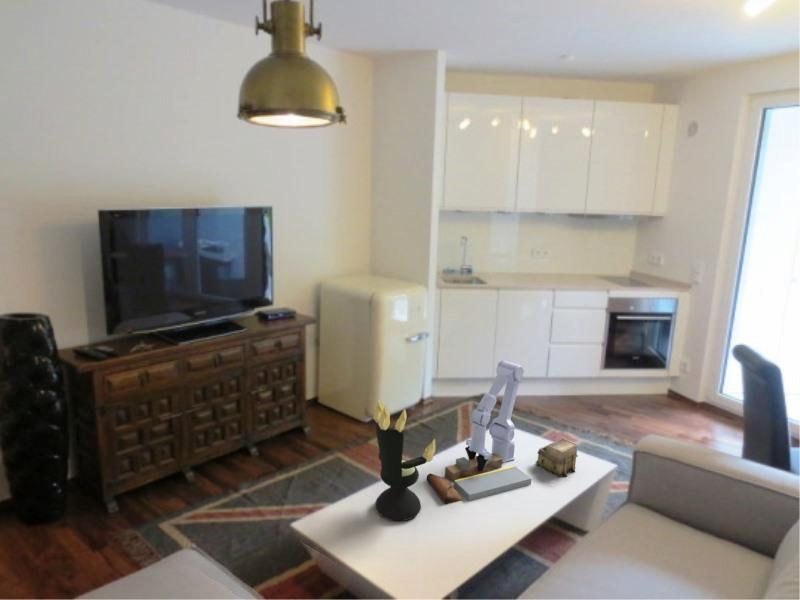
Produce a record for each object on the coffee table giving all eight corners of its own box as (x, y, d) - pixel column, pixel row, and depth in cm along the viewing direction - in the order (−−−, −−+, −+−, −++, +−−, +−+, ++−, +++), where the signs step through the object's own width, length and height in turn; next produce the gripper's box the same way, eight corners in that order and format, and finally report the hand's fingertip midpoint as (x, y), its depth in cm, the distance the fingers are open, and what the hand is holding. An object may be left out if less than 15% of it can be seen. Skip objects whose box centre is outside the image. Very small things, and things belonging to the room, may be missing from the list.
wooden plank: (493, 461, 241) (493, 452, 240) (501, 467, 237) (502, 458, 236) (444, 475, 228) (445, 466, 227) (452, 482, 224) (453, 473, 223)
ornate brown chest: (581, 469, 238) (584, 444, 236) (562, 479, 229) (565, 454, 227) (552, 455, 249) (554, 431, 247) (532, 464, 241) (535, 440, 238)
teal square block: (485, 456, 238) (486, 450, 237) (492, 460, 234) (492, 455, 233) (478, 457, 236) (478, 452, 235) (484, 462, 232) (485, 457, 231)
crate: (463, 462, 231) (464, 457, 231) (469, 467, 228) (470, 462, 227) (455, 464, 230) (456, 458, 229) (461, 469, 226) (462, 464, 225)
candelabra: (433, 507, 206) (440, 394, 196) (399, 537, 188) (405, 414, 178) (392, 490, 216) (396, 381, 206) (356, 517, 198) (359, 399, 188)
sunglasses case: (464, 500, 211) (457, 488, 209) (450, 511, 210) (442, 499, 207) (444, 476, 227) (437, 465, 225) (430, 487, 226) (423, 475, 224)
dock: (513, 471, 234) (514, 465, 233) (530, 484, 225) (531, 478, 224) (453, 486, 221) (454, 480, 220) (469, 500, 211) (469, 494, 211)
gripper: (460, 431, 234) (458, 460, 237) (480, 446, 222) (478, 477, 225) (474, 428, 237) (472, 457, 240) (494, 443, 225) (492, 473, 228)
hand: (476, 467), depth 233 cm, fingers closed on wooden plank, 6 cm apart
